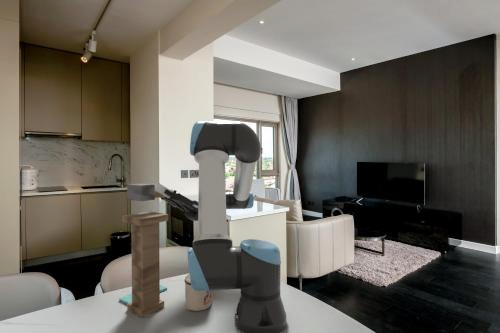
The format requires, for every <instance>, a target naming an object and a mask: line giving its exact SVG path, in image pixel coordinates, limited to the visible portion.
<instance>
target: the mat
mask: <svg viewBox="0 0 500 333" xmlns="http://www.w3.org/2000/svg"><path fill="white" fill-rule="evenodd" d="M167 290H168V287H166V286H164V285H162V284H160V294H161V293H162V292H165V291H167ZM119 302H121V303H123V304H125V305H127V304H128V303H130V302H132V293H130V294H127V295H125V296H122V297H120V298H119Z"/></svg>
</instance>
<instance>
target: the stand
mask: <svg viewBox="0 0 500 333" xmlns="http://www.w3.org/2000/svg"><path fill="white" fill-rule="evenodd" d="M168 221H169V214H168V213H161V212H156V211H155V212H154V211H143V212H136V213H129V214H123V215H121V223H125V224H129V225H131V230H130V231H131V232H130V233H131V294H132V302H130V303H128V304H126V305H127V306H126V307H127V308H126V310H127V311H128V312H129V313H132V314H134V315H135V316H138V317H140V318H145V317H147V316H149V315H151V314H154V313H156V312H157V311H160V310H162V309H164V308H165V300H162V299H160V298H161V297H160V295H161V293H160V285H161V284H160V283H161V282H160V279H161V278H160V275H161V274H160V223H162V222H168Z"/></svg>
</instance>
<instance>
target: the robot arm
mask: <svg viewBox="0 0 500 333" xmlns="http://www.w3.org/2000/svg"><path fill="white" fill-rule="evenodd" d="M191 129H192V130H191V134H190V142H189V143H190V144H189V153H190V156H193V158H194V161H195V162H196V163H197V164H198V200H197V199H196V200H191V199H190V198H188V197H186V196H185V195H183V194H181V193H180V192H178V190H175V189H173V191H171V190H172V189H169V188H168V187H166V186H164V185H163V184H161V183H158V182H157V183H155V182H152V183H151V184H153V185H155V191H157V192H158V193H160V194H162V195H164V196H165V197H159V198H160V199H161V200H162V201H165V202H167V203H168V204H169V205H171V206H172V207H173V208H178V209H180V210H181V211H183V212H184V216H185V217H186V218H187V219H188V220H190V221H191V222H195V223H196V224H197V231H198V232H197V237H196V238H195V239H193V241H192V247H190V248H187V265H188V272H189V274H190V281H191V286H192V288H193V289H194V290H196V291H212V292H213V291H226V290H227V291H228V290H240V296H239V299H238V303H237V305H236V306H237V307H236V309H235V312H234V325H235V327H236V328H237V329H238V330H239V331H240V332H242V333H280V332H282V331H284V329H285V328H286V325H287V312H286V311H285V306H284V303H283V300H282V297H281V264H282V260H281V250H280V248H279V246H277V244H274V243H272V242H269V241H266V240H262V239H243V240H241V242H240V244H239V246H233V239H232V238H231V237H230V236H228V226H227V210H246V209H253V207H254V200H255V199H254V193H253V192H252V191H251V190H252V186H253V185H252V184H253V181H254V175H255V169H256V166H257V162H258V161H259V159H260V158H261V154H262V153H261V152H262V146H261V141H260V139H259V137H258V135H257V133H256V132H255V130H254V129H253V128H252V127H251V126H249V125H247V124H246V123H243V122H241V121H208V120H206V121H205V120H204V121H196V122H195V123H194V124H193V126H192V128H191ZM230 156H234V158H235V159H236V161H235V168H234V178H233V179H234V180H233V188H232V191H229V192H227V191H226V187H227V186H226V163H228V162H229V161H230ZM172 192H173V193H172ZM177 192H178V193H177ZM189 274H188V275H189Z"/></svg>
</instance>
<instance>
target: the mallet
mask: <svg viewBox="0 0 500 333" xmlns="http://www.w3.org/2000/svg"><path fill="white" fill-rule="evenodd" d="M126 186H127V187H126V190H127V191H126V192H127V193H126V196H127V198H126V199H127V200H128V201H129V200H130V201H137V202H145V201H146V202H147V201H155V200H156V199H159V198H160V197H165V196H164V195H162V194H160V193H158V192H157V191H155V185H153V184H152V183H129V184H127V185H126ZM170 190H171V191H174V189H170ZM172 193H173V192H172Z"/></svg>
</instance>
